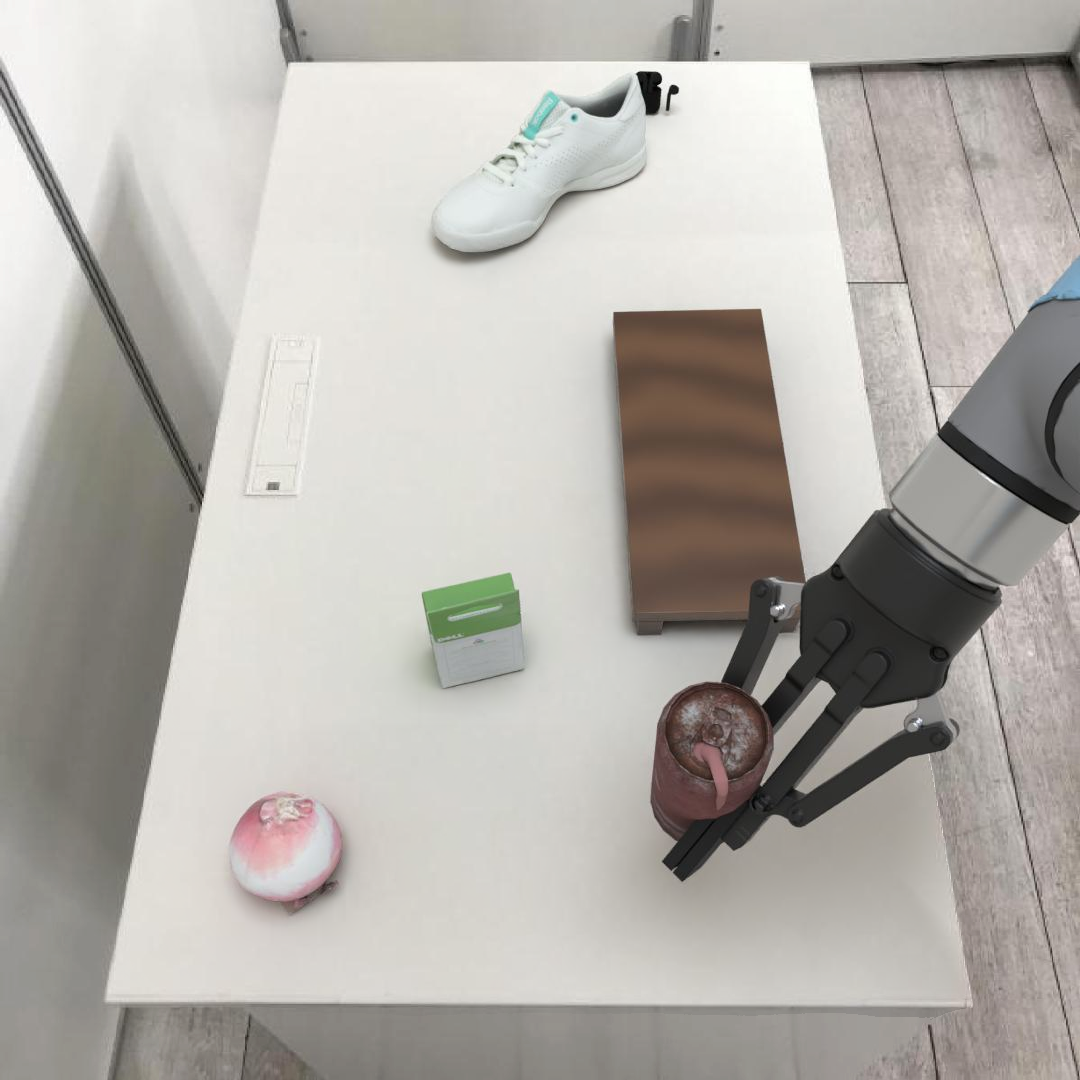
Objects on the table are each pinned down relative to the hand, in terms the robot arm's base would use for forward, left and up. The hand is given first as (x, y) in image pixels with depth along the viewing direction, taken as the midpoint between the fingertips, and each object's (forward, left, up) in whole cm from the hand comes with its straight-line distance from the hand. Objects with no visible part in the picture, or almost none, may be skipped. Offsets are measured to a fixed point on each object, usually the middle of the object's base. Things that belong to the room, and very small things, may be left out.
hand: (681, 864), depth 62 cm
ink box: (+14, +20, -17) cm, 30 cm away
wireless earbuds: (+84, +30, -17) cm, 91 cm away
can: (+5, 0, -4) cm, 6 cm away
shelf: (+38, +9, -17) cm, 43 cm away
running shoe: (+66, +36, -17) cm, 77 cm away
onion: (-6, +26, -17) cm, 32 cm away
